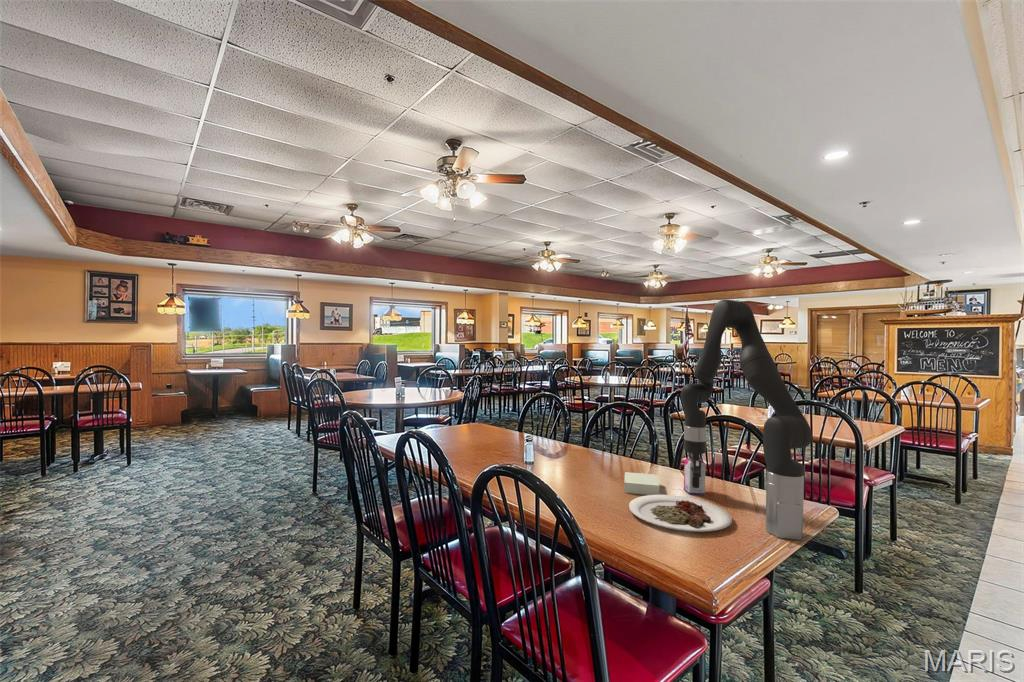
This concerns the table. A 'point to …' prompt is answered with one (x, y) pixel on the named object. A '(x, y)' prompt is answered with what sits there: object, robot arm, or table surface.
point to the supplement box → (688, 479)
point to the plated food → (680, 513)
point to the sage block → (641, 483)
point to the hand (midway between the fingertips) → (694, 484)
